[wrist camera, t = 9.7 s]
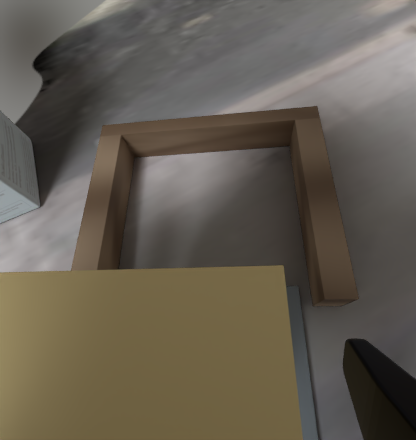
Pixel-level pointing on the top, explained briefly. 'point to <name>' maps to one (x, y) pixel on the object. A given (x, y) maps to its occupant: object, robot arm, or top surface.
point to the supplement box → (16, 172)
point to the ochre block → (147, 355)
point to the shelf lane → (211, 142)
